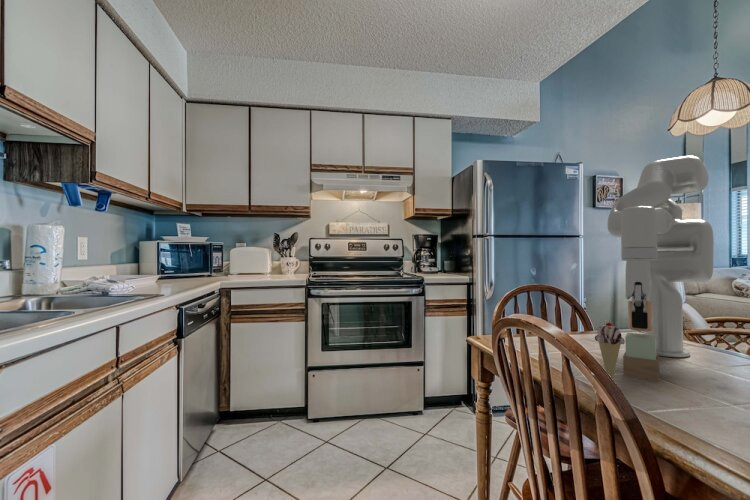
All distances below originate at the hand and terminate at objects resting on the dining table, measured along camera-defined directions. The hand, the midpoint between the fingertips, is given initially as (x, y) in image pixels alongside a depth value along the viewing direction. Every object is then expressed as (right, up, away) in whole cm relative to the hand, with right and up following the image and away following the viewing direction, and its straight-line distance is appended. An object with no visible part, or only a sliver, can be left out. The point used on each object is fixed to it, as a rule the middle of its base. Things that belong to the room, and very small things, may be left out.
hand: (640, 325), depth 94 cm
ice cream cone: (-14, -12, -10) cm, 21 cm away
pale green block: (0, -8, 0) cm, 8 cm away
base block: (0, -13, 0) cm, 13 cm away
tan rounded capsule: (0, -1, 0) cm, 1 cm away
